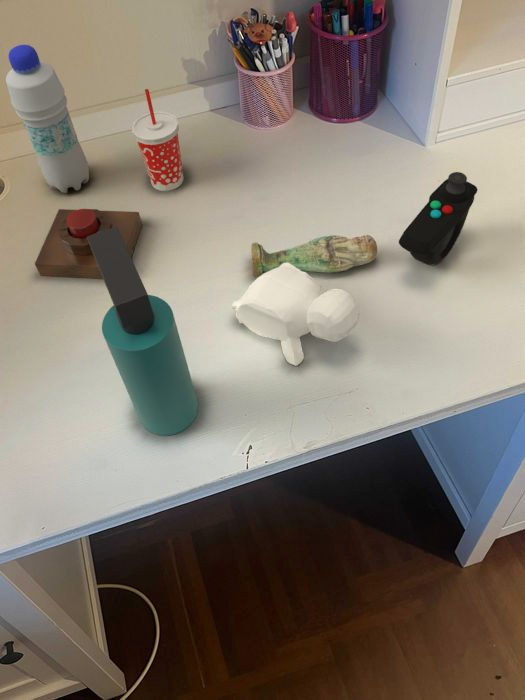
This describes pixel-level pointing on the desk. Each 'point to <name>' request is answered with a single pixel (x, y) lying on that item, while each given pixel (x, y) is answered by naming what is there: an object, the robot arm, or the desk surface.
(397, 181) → the desk surface
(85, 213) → the button
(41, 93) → the bottle
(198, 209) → the desk surface
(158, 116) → the beverage cup
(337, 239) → the figurine
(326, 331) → the penguin
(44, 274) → the button box
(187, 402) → the spray bottle
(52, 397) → the desk surface
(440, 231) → the controller
